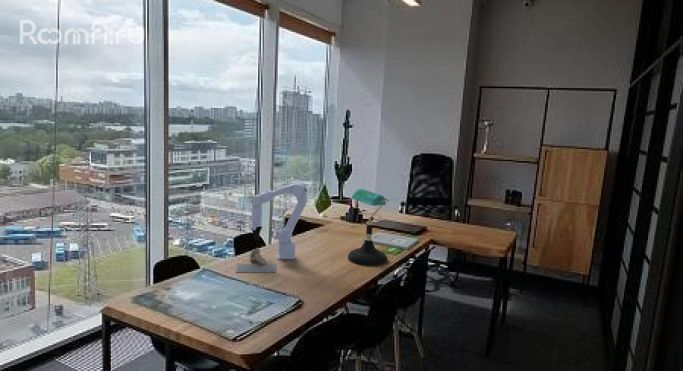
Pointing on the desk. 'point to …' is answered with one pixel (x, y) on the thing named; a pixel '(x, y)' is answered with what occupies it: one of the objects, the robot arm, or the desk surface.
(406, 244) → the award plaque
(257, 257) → the rough beige rock
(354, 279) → the desk surface
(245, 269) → the charcoal mat
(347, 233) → the desk surface
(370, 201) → the banker's lamp
